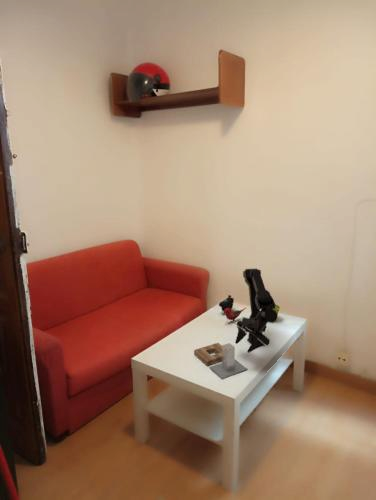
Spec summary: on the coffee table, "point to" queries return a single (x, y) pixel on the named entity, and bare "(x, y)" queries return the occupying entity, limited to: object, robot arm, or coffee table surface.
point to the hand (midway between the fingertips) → (241, 347)
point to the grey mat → (224, 374)
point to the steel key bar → (228, 357)
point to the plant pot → (276, 309)
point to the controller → (227, 303)
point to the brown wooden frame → (205, 354)
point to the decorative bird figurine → (232, 314)
